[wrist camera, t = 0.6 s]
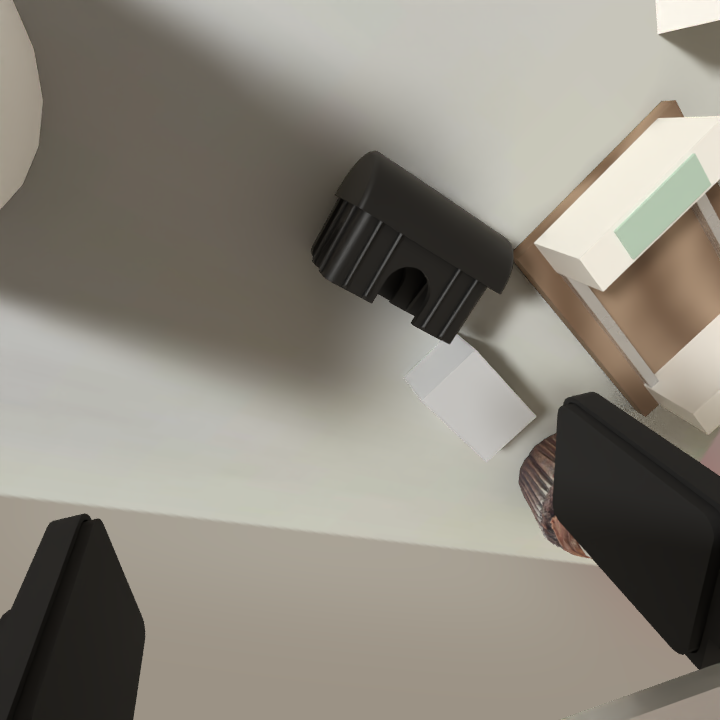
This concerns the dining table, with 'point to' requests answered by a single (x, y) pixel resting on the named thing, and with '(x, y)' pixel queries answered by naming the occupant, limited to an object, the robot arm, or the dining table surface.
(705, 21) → the white stepped block
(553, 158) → the dining table surface
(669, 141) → the mounted modules
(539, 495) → the cupcake
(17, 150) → the cylinder
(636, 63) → the dining table surface
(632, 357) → the rail
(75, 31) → the dining table surface
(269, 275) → the dining table surface
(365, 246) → the end cap
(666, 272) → the rail board
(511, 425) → the block
